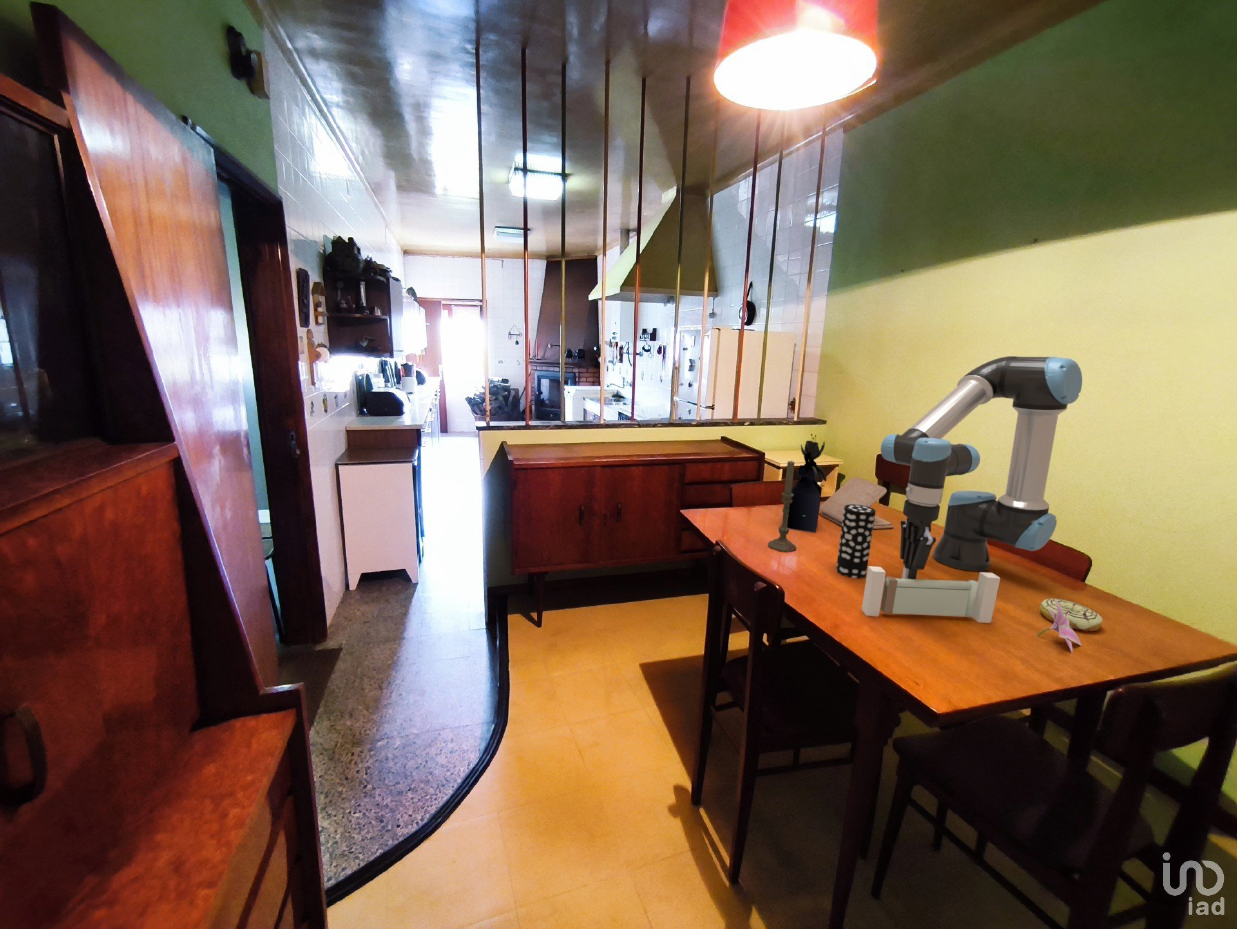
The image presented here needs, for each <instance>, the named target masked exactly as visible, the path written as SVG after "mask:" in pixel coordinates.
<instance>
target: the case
mask: <svg viewBox="0 0 1237 929" xmlns="http://www.w3.org/2000/svg"><path fill="white" fill-rule="evenodd" d="M887 491H888V490H887V488H886V487H884V486H882V485H880V484H877V483H874V482H872V481H870V480H866V479H864V478H860V477H858V476H854V477H852V478H850V479H849V480H848V481H846V482H845V483H844V484H843V485H842V486H841V487H840V488H839V489H837V490H836V491H835V492H834V493H833V494H832V495H831V496H830V497H828V498H827V499H826V500H825V501H824V502H823V503H822V504H820V508H819V512H820V515H821V516H822V517H824V518H826V519H828V520H830V521H832V522H833V523H834V524H837V525H839V526H840V527H842V521H843V514H844V506H845V505H849V504H856V505H863V506H868V507H871V508H872V506H873V505H874V504H876V502H878V501H880V499H881V498H883V497H884V496H885V495H886V494H887ZM894 527H895V526H894V524H892V523H891V522H890V521H888V520H885V519H883V518H882V517H879V516H877V515H875V519H874V526H873V530H875V529H876V530H877V529H878V530H879V529H892V528H894Z"/></svg>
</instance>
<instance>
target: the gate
mask: <svg viewBox="0 0 1237 929" xmlns="http://www.w3.org/2000/svg"><path fill="white" fill-rule="evenodd" d="M977 588H978V580H977V581H976V580H974V579H969V580H968V581H967V580H966V581H965V580H944V579H943V580H941V579H923V578H922V579H920V578H919V579H917V578H916V579H902V578H895V577H894V576H885V580H884V586H883V593H882V599H881V605H880V611H881V612H882V613H883V614H887V615H893V614H896V615H918V616H920V615H921V616H922V615H923V616H944V617H946V616H947V617H949V616H950V617H967V618H972V613H973V608H974V603H975V598H976V593H977Z"/></svg>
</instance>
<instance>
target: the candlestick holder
mask: <svg viewBox="0 0 1237 929" xmlns="http://www.w3.org/2000/svg"><path fill="white" fill-rule="evenodd" d="M794 469H795V462H794V461H793V460H789V461H787V464H786V474H785V483H784V492H781V496H782V498H781V502H782V503H783V507H782V523H781V526H779V527H778V534H779V537H777V538H774V539H772V540H769V541H768V543H767V546H768V548H770V549H771V550H773V551H777V552H781V553H792V552H795V551H796V550H797V546H796V544H794V543H793V542H792V541H791V540H789V539H788V538H787V535H788V534H789V533H790V532H789V531H790V529H789V528H787V520H788V513H789V504H790V503H792V497H793V496H794V494H792V493H791V491H792V487H793V481H794V471H795V470H794Z"/></svg>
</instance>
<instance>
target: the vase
mask: <svg viewBox="0 0 1237 929" xmlns="http://www.w3.org/2000/svg"><path fill="white" fill-rule="evenodd" d="M810 436H812V440H805V444H804V447H803V445H802V444H800V450H801V453H802V456H803V459H804V465H802V464H801V465H800V466H799V468H798V473H797V477H798V476H800V479H799V480H798V481H796V482H795V483H793V484H792V491H791V493H792V494H794V496H793V497H792V503H790V504H789V513H788V518H787V528H789V530H794V531H800V532H807V533H814V534H816V532H817V528H818V524H819V514H820V506H821V501H822V499H821V498H822V491H823V488H822V486H821V485H820V484H819V478H820V477H819V472H820V474H821V476H822V479H823V481H824V482H827V474H826V471H825V470H824V469H823V468H822V467H821V466H819V465H818V464H817V462H816V461H815V460H816V459H818V458H819V457H820V456H822V454H823V452H824V450H825V447H826V444H825V443H826V442H825V441H823V443H822V445H821V447H819V442H818V441H817V440H815V438H817V435H814V436H813V434H812V433H810ZM813 440H814V441H813Z"/></svg>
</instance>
